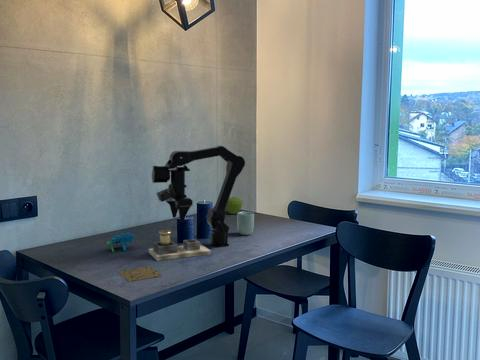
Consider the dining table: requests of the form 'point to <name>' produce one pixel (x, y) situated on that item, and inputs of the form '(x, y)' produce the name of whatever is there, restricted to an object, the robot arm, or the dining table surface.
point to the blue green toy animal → (120, 241)
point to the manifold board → (178, 250)
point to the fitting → (164, 237)
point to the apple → (233, 205)
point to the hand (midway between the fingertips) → (177, 219)
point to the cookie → (140, 274)
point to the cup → (245, 222)
